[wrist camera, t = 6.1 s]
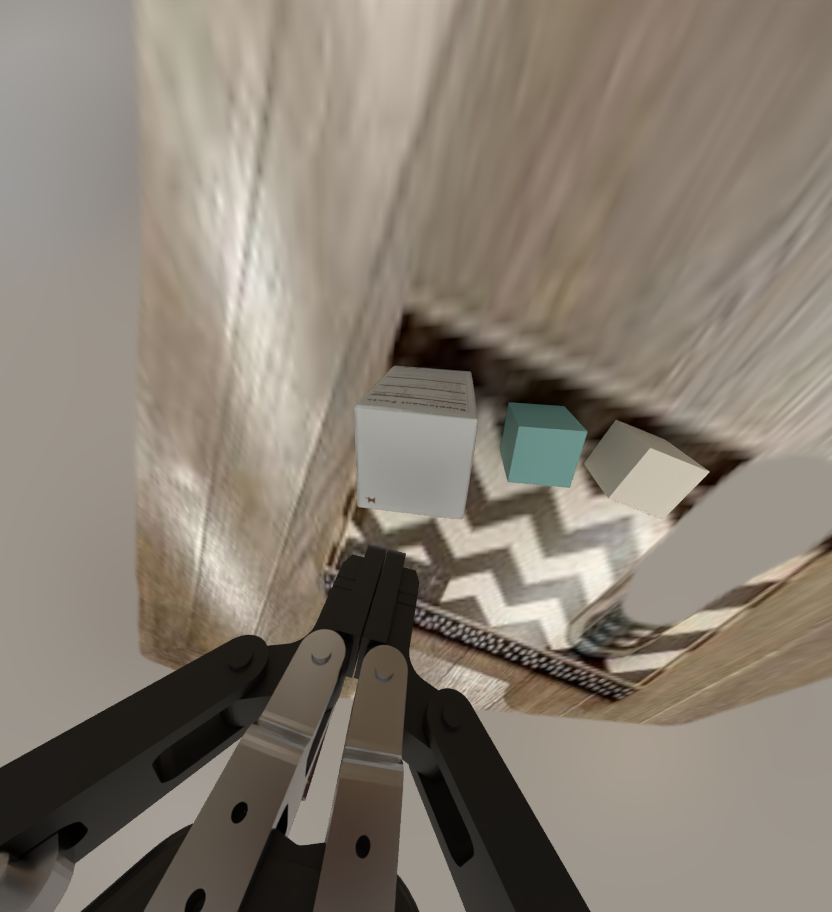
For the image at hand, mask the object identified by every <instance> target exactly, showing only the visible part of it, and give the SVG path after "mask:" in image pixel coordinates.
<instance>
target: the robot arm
mask: <svg viewBox="0 0 832 912" xmlns="http://www.w3.org/2000/svg"><path fill="white" fill-rule="evenodd" d="M386 552H387V549H386V548H382V547H378V546H374V545H370V544H369V546H368V549H367V551H366V554H365V557H360V556H357V555H353V554H352V555H351V556H350V557H349V558H348V559H347V560H346V561H345V562H344V563H343V564H342V566H341V568H340V571H339V573H338V575H337V577H336V580H335V582H334V584H333V587H332V589H331V591H330V593H329V595H328V598H327V600H326V602H325V604H324V607H323V609H322V611H321V613H320V616H319V618H318V620H317V622H316V624H315V626H314V628H313V629H312V631H311V632H310V633H309V634H308V635H306V636H305V637H304V638H302V639H301V640H299V641H296V642H293V643H289V644H281V645H270V646H267V645H266V643H265V641H264V640H263V639H262V638H260V637H258V636H255V635H243V636H239V637H236V638H234V639H232V640H230V641H229V642H227V643H225V644H223V645H221V646H219V647H218V648H216V649H214V650H212V651H210V652H209V653H207V654H205V655H203V656H201V657H200V658H198V659H196V660H194V661H192V662H191V663H189V664H187V665H185V666H183V667H182V668H180V669H178V670H176V671H174V672H173V673H171V674H169V675H167V676H165V677H163V678H162V679H160V680H158V681H156V682H154V683H153V684H151V685H149V686H147V687H146V688H144V689H142V690H140V691H138V692H136V693H135V694H133V695H131V696H129V697H127V698H126V699H124V700H122V701H120V702H118V703H117V704H115V705H113V706H111V707H109V708H108V709H106V710H104V711H102V712H100V713H98V714H97V715H95V716H93V717H91V718H89V719H88V720H86V721H84V722H82V723H80V724H79V725H77V726H75V727H73V728H71V729H70V730H68V731H66V732H64V733H62V734H61V735H59V736H57V737H55V738H53V739H51V740H50V741H48V742H46V743H44V744H42V745H41V746H39V747H37V748H35V749H33V750H32V751H30V752H28V753H26V754H24V755H22V756H21V757H19V758H17V759H15V760H13V761H12V762H10V763H8V764H6V765H5V766H3V767H1V768H0V912H53V911H54V910H55V909H56V907H57V905H58V904H59V903H60V901H61V899H62V897H63V896H64V893H65V892H66V890H67V888H68V885H69V883H70V881H71V878H72V875H73V871H74V866H75V863H76V862H78V861H79V860H80V859H82V858H83V857H84V856H85V855H87V854H88V853H90V852H91V851H92V850H94V849H95V848H96V847H97V846H99V845H100V844H101V843H103V842H104V841H105V840H107V839H108V838H109V837H111V836H112V835H113V834H115V833H116V832H117V831H119V830H120V829H121V828H123V827H124V826H125V825H126V824H128V823H129V822H130V821H132V820H133V819H134V818H136V817H137V816H138V815H140V814H141V813H142V812H144V811H145V810H146V809H147V808H149V807H150V806H151V805H153V804H154V803H155V802H157V801H158V800H159V799H161V798H162V797H163V796H165V795H166V794H167V793H169V792H170V791H171V790H173V789H174V788H175V787H176V786H178V785H179V784H180V783H182V782H183V781H184V780H185V779H187V778H188V777H190V776H191V775H192V774H194V773H195V772H196V771H198V770H199V769H200V768H202V767H203V766H204V765H206V764H207V763H208V762H209V761H211V760H212V759H213V758H215V757H216V756H217V755H219V754H220V753H221V752H223V751H224V750H225V749H227V748H228V747H229V746H231V745H232V744H233V743H234V742H236V741H237V740H238V739H240V738H241V737H242V736H243V737H242V738H241V740H240V742H239V743H238V745H237V747H236V749H235V751H234V752H233V754H232V756H231V758H230V760H229V761H228V763H227V765H226V767H225V768H224V770H223V772H222V774H221V775H220V777H219V779H218V781H217V782H216V784H215V786H214V788H213V790H212V791H211V793H210V795H209V797H208V798H207V800H206V802H205V804H204V806H203V807H202V809H201V811H200V813H199V814H198V816H197V818H196V820H195V821H194V823H193V824H191V825H188V826H186V827H184V828H182V829H181V830H179V831H177V832H175V833H174V834H172V835H171V836H169V837H168V838H166V839H165V840H164V841H162V842H161V843H159V844H158V845H157V846H156V847H154V848H153V849H152V850H151V851H150V852H149V853H147V854H146V855H145V856H144V857H143V858H142V859H140V860H139V861H138V862H137V863H136V864H135V865H134V866H133V867H132V868H130V869H129V870H128V871H127V872H126V873H124V874H123V875H122V876H121V877H120V878H119V879H118V880H116V881H115V882H114V883H113V884H112V885H111V886H110V887H108V888H107V889H106V890H105V891H104V892H103V893H102V894H100V895H99V896H98V897H97V898H96V899H95V900H94V901H92V902H91V903H90V904H89V905H88V906H87V907H86V908H84V909H83V910H82V911H81V912H419V910H418V907H417V905H416V903H415V901H414V899H413V898H412V896H411V893H410V891H409V890H408V888H407V887H406V885H405V884H404V882H403V881H402V879H401V878H400V877H399V876H398V875H397V867H398V852H399V838H400V823H401V808H402V794H403V775H404V773H403V772H404V771H403V762H402V759H403V760H404V761H405V762H407V763H408V764H409V768H410V770H411V773H412V776H413V779H414V781H415V784H416V786H417V788H418V791H419V794H420V796H421V799H422V801H423V804H424V806H425V809H426V811H427V814H428V816H429V819H430V821H431V824H432V827H433V829H434V832H435V834H436V837H437V839H438V842H439V844H440V847H441V849H442V852H443V854H444V857H445V859H446V862H447V864H448V867H449V870H450V872H451V875H452V877H453V880H454V882H455V885H456V887H457V890H458V892H459V895H460V897H461V900H462V902H463V905H464V908H465V910H466V912H590V910H589V908H588V907H587V905H586V903H585V901H584V900H583V898H582V896H581V894H580V893H579V891H578V889H577V887H576V886H575V884H574V882H573V880H572V879H571V877H570V875H569V873H568V872H567V870H566V868H565V866H564V865H563V863H562V861H561V860H560V858H559V856H558V854H557V853H556V851H555V849H554V847H553V846H552V844H551V842H550V840H549V839H548V837H547V835H546V834H545V832H544V830H543V828H542V827H541V825H540V823H539V822H538V820H537V818H536V817H535V815H534V813H533V811H532V809H531V808H530V806H529V804H528V802H527V801H526V799H525V797H524V795H523V794H522V792H521V790H520V789H519V787H518V785H517V783H516V782H515V780H514V778H513V777H512V775H511V773H510V771H509V770H508V768H507V766H506V764H505V763H504V761H503V759H502V757H501V756H500V754H499V752H498V750H497V749H496V747H495V745H494V744H493V742H492V740H491V738H490V737H489V735H488V733H487V731H486V730H485V728H484V726H483V724H482V723H481V721H480V719H479V718H478V716H477V714H476V712H475V711H474V709H473V707H472V705H471V704H470V702H469V701H468V699H467V698H466V697H465V696H464V695H463V694H462V693H460V692H458V691H457V690H454V689H450V688H445V689H441V690H437V689H436V688H434V687H433V686H431V685H430V684H429V683H427V682H426V681H424V680H423V679H422V678H421V677H420V676H419V675H418V674H417V673H416V672H415V670H414V668H413V666H412V664H411V661H410V657H409V648H410V641H411V634H412V628H413V621H414V615H415V607H416V602H417V595H418V588H419V580H418V577H417V573H416V571H415V570H411V569H407V568H404V567H403V565H404V561H405V556H406V553H402V552H398V551H394V550H390V549H388V552H387V556H386ZM385 556H386V559H385ZM384 560H385V562H384ZM383 565H384V566H383ZM358 655H359V657H358ZM357 659H358V662H357ZM356 662H357V666H356V671H355V676H354V678H356V679H358V684H357V688H356V693H355V697H354V701H353V706H352V710H351V715H350V720H349V726H348V730H347V735H346V740H345V745H344V750H343V755H342V760H341V765H340V770H339V775H338V780H337V785H336V789H335V795H334V800H333V804H332V809H331V813H330V818H329V823H328V828H327V833H326V838H325V843H318V844H310V845H297V844H295V843H294V842H292V841H291V840H290V839H289V838H288V835H289V832H290V830H291V827H292V824H293V822H294V819H295V816H296V813H297V811H298V808H299V805H300V802H301V799H302V796H303V792H304V789H305V786H306V783H307V780H308V777H309V774H310V771H311V769H312V766H313V763H314V761H315V758H316V755H317V753H318V750H319V747H320V745H321V742H322V740H323V737H324V734H325V732H326V729H327V726H328V724H329V721H330V718H331V716H332V713H333V710H334V708H335V705H336V702H337V700H338V698H339V696H340V693H341V690H342V686H343V683H344V680H345V676H348V677H352V676H353V672H354V669H355V665H356Z"/></svg>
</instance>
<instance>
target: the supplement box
mask: <svg viewBox="0 0 832 912" xmlns="http://www.w3.org/2000/svg"><path fill="white" fill-rule="evenodd" d="M354 423H355V446H356V471H357V496H358V507H364V508H371V509H378V510H386V511H394V512H402V513H411V514H419V515H427V516H436V517H444V518H452V519H462V518H463V515H464V510H465V505H466V499H467V493H468V487H469V481H470V474H471V468H472V461H473V455H474V448H475V441H476V433H477V425H478V417H477V410H476V402H475V394H474V387H473V381H472V375H471V372H470V371H455V370H442V369H430V368H418V367H406V366H393V367H392V368H391V369H390V370H389V371H388V372H387V373H386V374H385V375H384V376H383V377H382V378H381V379H380V381H379V382H378V383H377V384H376V385H375V386H374V387H373V388H372V389H371V390H370V391H369V392H368V393H367V394H366V395H365V396H364V397H363V398H362V399H361V400H360V401H359V402H358V403H357V404H356V405H355V407H354Z"/></svg>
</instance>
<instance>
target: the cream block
mask: <svg viewBox="0 0 832 912" xmlns="http://www.w3.org/2000/svg"><path fill="white" fill-rule="evenodd" d="M584 465H585V466H586V468H587V469H588V471H589V472H590V473H591V475H592V476H593V478H594V479H595V480H596V482H597V483H598V485H599V486H600V487H601V489H602V490H603V491H604V493H605V494H606V496H607V497H608V498H609V499H612V500H614V501H617V502H619V503H622V504H624V505H627V506H629V507H632V508H634V509H637V510H640V511H642V512H645V513H647V514H650V515H652V516H655V517H657V518H660V519H664V518H665V517H666V516H667V515H668V514H669V513H670V512H671V511H672V510H673V509H674V508H675V507H676V506H677V505H678V504H679V503H680V502H681V500H682V499H683V498H684V497H685V496H686V495H687V494H688V493H689V492H690V491H691V490H692V489H693V488H694V487H695V486H696V485H697V484H698V483H699V482H700V481H701V480H702V479H703V478H704V477H705V476H706V475H707V474H708V473H709V471H708V470H706V469H705V468H704V467H702V466H701V465H699V464H698V463H697V462H695V461H694V460H693V459H691V458H690V457H688V456H687V455H686V454H684V453H683V452H681V451H680V450H679V449H677V448H676V447H674V446H673V445H672V444H670V443H669V442H667V441H666V440H665V439H662V438H660V437H657V436H655V435H652V434H650V433H647V432H645V431H643V430H640V429H638V428H635V427H633V426H630V425H628V424H625V423H623V422H620V421H618V420H615V422H614V423H613V424H612V426H611V427H610V428H609V430H608V431H607V433H606V434H605V435H604V437H603V438H602V439H601V441H600V442H599V443H598V445H597V446H596V448H595V449H594V450H593V452H592V453H591V454H590V456H589V457H588V458H587V460H586V461H585V462H584Z"/></svg>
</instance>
